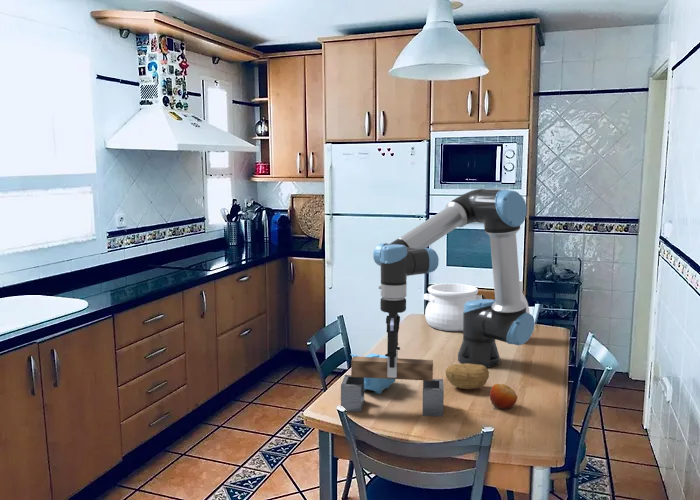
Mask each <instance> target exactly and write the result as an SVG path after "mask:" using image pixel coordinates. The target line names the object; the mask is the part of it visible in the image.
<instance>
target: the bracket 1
mask: <svg viewBox="0 0 700 500" xmlns="http://www.w3.org/2000/svg"><path fill="white" fill-rule="evenodd" d="M364 404H365V390H364V377H351V374H350V375H349V374H345V375H344V377H343V379H342V382H341V384H340V407H341V406H343V407H344V408H345V409H346V410H347V412H348V413H362V409H363V407H364Z"/></svg>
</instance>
